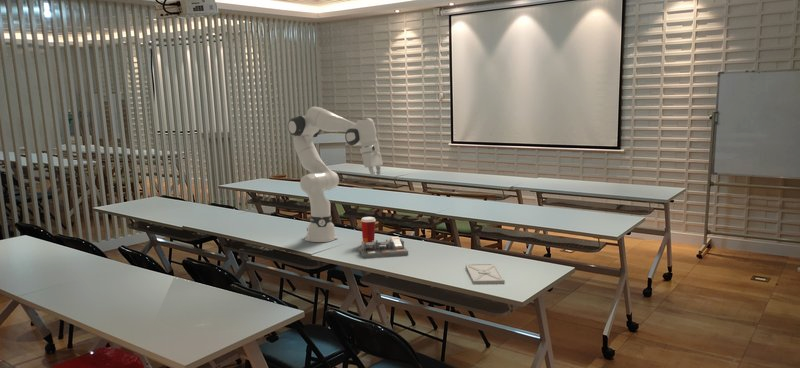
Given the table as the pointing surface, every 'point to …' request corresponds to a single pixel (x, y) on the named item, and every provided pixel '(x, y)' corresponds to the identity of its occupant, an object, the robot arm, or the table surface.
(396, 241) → the rocker
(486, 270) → the envelope
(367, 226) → the coffee cup
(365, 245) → the rocker
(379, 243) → the rocker
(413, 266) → the table surface
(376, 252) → the switch panel
